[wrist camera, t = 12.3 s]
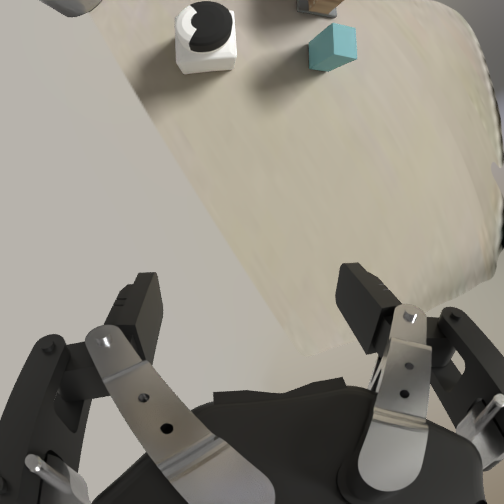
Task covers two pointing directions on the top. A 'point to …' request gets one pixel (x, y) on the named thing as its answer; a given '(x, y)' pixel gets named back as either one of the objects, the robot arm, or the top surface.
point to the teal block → (333, 48)
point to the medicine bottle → (205, 38)
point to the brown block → (319, 7)
